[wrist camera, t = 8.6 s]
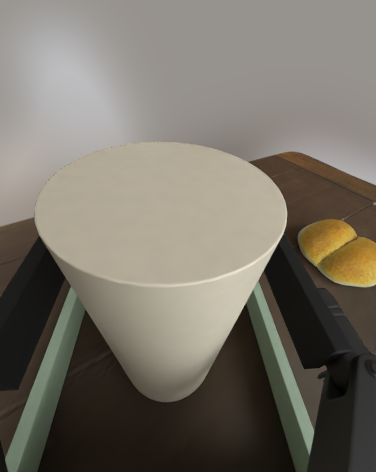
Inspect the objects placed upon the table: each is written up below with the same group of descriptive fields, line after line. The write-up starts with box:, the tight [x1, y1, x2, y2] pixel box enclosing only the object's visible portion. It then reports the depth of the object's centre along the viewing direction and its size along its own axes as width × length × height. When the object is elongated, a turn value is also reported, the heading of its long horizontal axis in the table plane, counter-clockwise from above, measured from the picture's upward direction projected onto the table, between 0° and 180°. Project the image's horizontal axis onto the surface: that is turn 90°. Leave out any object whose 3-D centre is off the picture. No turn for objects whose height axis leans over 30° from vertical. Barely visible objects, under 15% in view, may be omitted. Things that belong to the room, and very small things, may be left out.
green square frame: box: [5, 281, 314, 472], centre depth 16 cm, size 17×17×2 cm
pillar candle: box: [34, 142, 287, 402], centre depth 11 cm, size 7×7×15 cm
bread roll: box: [298, 219, 376, 287], centre depth 23 cm, size 8×9×4 cm
